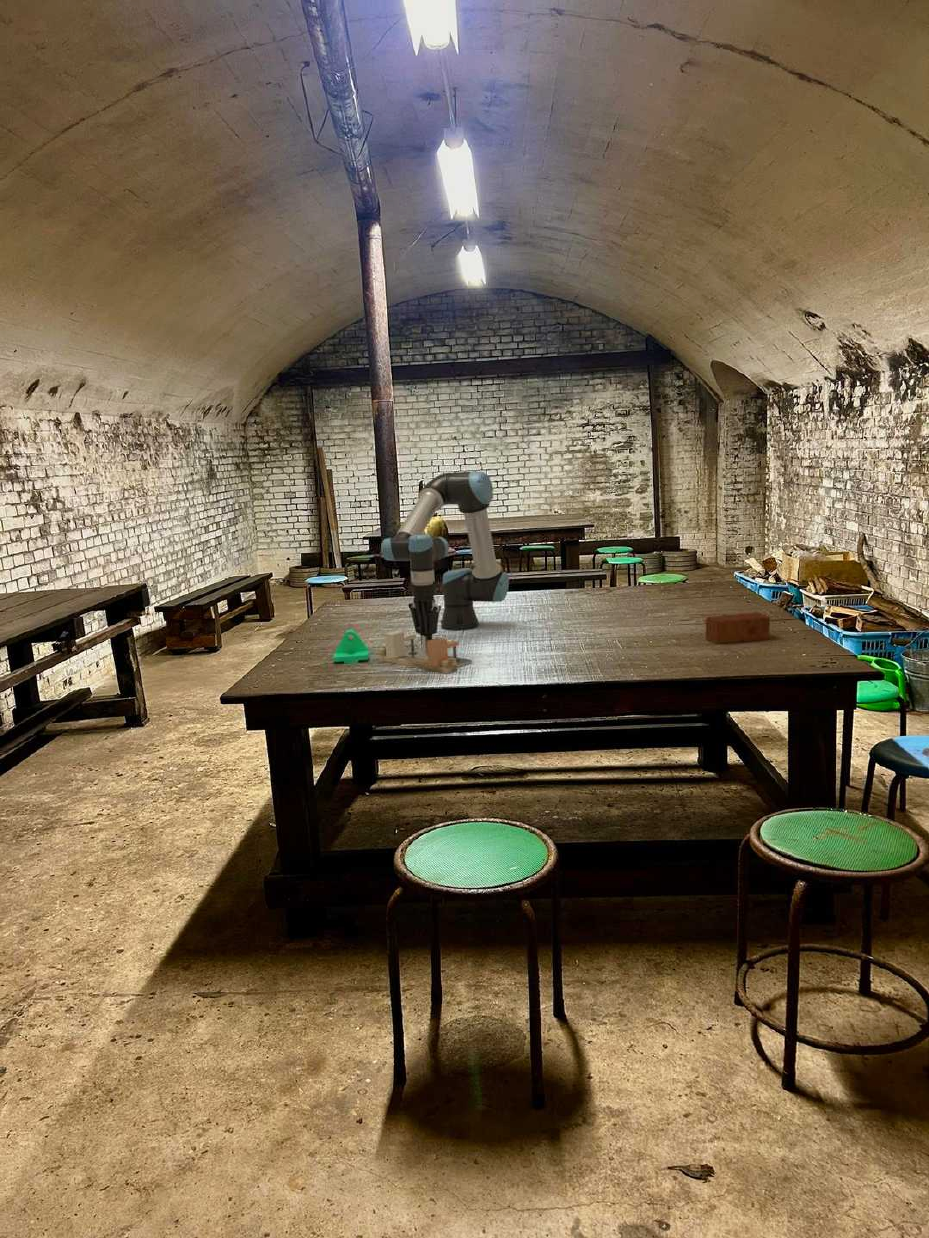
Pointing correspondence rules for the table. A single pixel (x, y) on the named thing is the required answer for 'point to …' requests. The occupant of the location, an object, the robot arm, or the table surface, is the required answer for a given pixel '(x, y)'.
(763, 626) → the brick
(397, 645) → the fixed leg
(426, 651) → the robot arm
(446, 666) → the rail
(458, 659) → the hole plate
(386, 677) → the table surface
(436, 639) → the slider leg
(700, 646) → the table surface
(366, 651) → the camera mount
